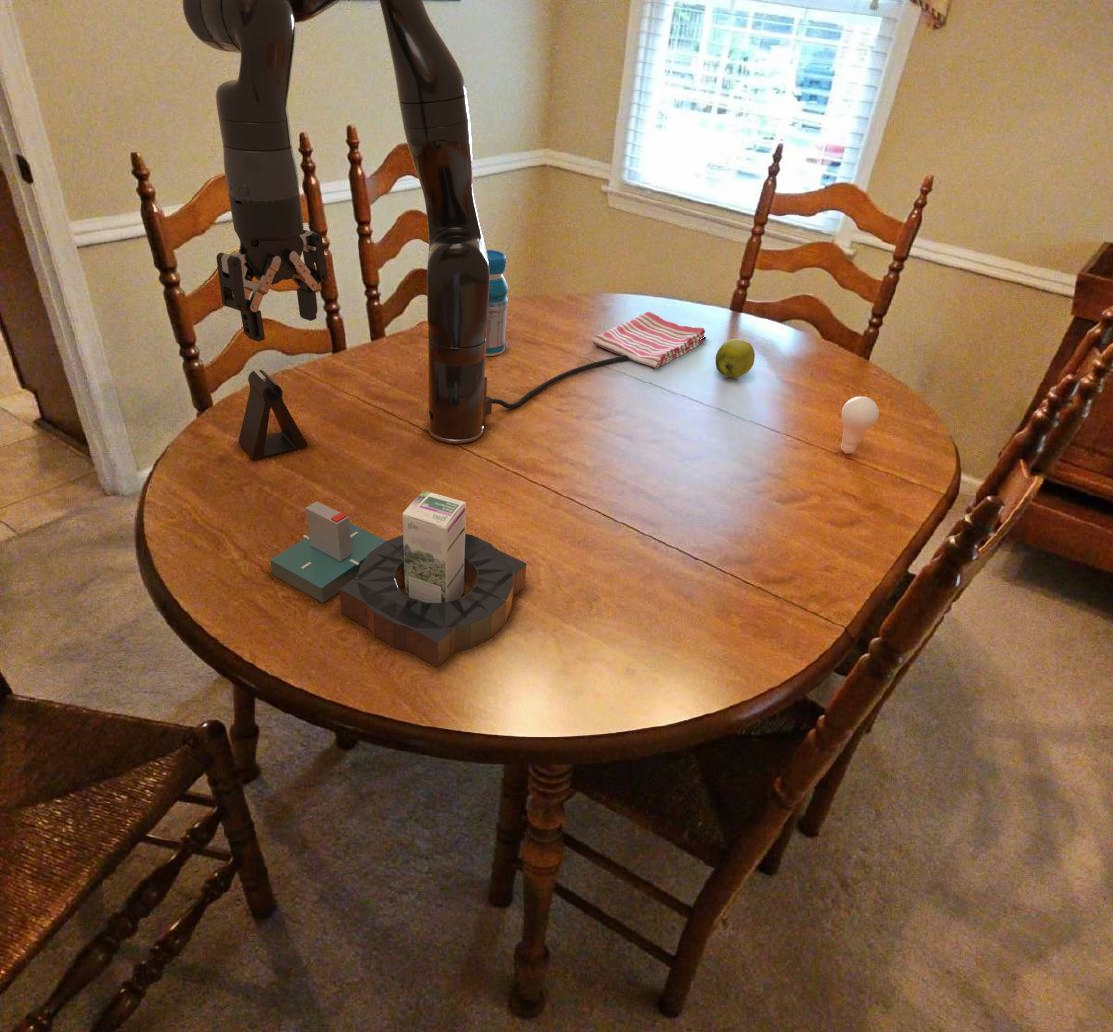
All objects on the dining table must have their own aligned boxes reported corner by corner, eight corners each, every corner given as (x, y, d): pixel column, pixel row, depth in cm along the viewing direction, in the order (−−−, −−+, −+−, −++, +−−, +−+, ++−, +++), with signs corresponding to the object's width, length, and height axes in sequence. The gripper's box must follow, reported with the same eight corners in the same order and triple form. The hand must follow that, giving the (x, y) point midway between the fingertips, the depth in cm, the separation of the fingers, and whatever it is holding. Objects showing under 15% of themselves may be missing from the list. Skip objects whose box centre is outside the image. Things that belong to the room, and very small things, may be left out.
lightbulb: (865, 450, 141) (885, 396, 135) (861, 465, 136) (882, 409, 130) (831, 441, 143) (849, 387, 136) (826, 455, 138) (845, 400, 132)
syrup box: (465, 592, 99) (468, 499, 91) (445, 621, 94) (446, 525, 86) (425, 580, 100) (424, 487, 92) (403, 607, 96) (400, 512, 87)
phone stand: (252, 461, 120) (241, 391, 113) (238, 444, 123) (227, 375, 116) (307, 447, 124) (300, 379, 118) (293, 431, 128) (285, 364, 121)
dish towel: (705, 342, 178) (708, 327, 176) (655, 371, 161) (657, 355, 159) (642, 320, 185) (645, 306, 183) (588, 346, 169) (590, 331, 167)
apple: (755, 374, 165) (764, 339, 160) (740, 388, 158) (749, 352, 154) (721, 364, 168) (729, 329, 163) (705, 377, 161) (713, 341, 157)
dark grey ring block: (426, 536, 108) (426, 513, 106) (539, 591, 101) (542, 567, 98) (326, 609, 94) (323, 584, 92) (448, 678, 87) (449, 653, 84)
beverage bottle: (503, 359, 159) (509, 262, 148) (463, 355, 159) (465, 258, 148) (506, 343, 166) (511, 250, 155) (467, 340, 166) (469, 246, 155)
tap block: (338, 530, 107) (337, 514, 106) (391, 557, 103) (390, 541, 102) (270, 573, 99) (267, 557, 97) (325, 604, 95) (323, 588, 93)
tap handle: (309, 545, 100) (304, 506, 96) (321, 538, 101) (316, 499, 98) (340, 562, 98) (336, 522, 94) (351, 554, 99) (348, 515, 96)
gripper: (286, 174, 92) (302, 306, 101) (186, 193, 81) (214, 339, 91) (334, 185, 89) (346, 319, 98) (237, 207, 79) (260, 355, 88)
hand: (283, 328), depth 94 cm, fingers open, 8 cm apart
